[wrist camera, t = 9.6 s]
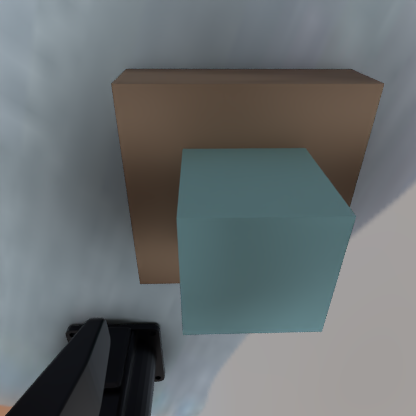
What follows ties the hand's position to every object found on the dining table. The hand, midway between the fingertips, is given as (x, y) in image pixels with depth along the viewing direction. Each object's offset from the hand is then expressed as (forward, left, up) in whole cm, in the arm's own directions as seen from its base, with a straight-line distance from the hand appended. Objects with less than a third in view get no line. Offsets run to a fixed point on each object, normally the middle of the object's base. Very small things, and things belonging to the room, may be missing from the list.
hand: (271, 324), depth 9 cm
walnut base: (0, 0, -10) cm, 10 cm away
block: (0, 0, -7) cm, 7 cm away
